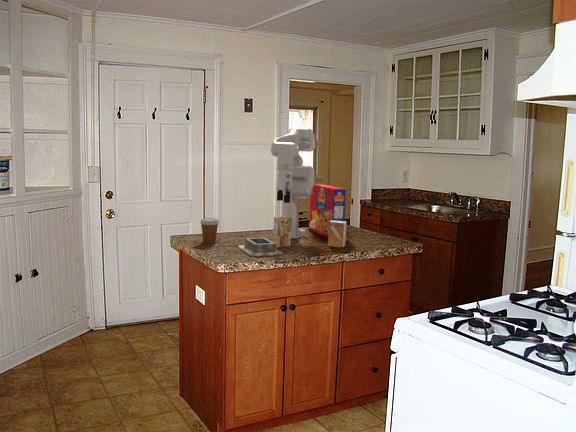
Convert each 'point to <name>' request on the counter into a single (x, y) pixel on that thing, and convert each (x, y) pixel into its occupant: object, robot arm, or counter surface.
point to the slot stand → (259, 247)
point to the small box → (337, 233)
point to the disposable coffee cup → (209, 230)
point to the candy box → (282, 231)
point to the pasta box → (326, 207)
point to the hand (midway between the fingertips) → (283, 201)
